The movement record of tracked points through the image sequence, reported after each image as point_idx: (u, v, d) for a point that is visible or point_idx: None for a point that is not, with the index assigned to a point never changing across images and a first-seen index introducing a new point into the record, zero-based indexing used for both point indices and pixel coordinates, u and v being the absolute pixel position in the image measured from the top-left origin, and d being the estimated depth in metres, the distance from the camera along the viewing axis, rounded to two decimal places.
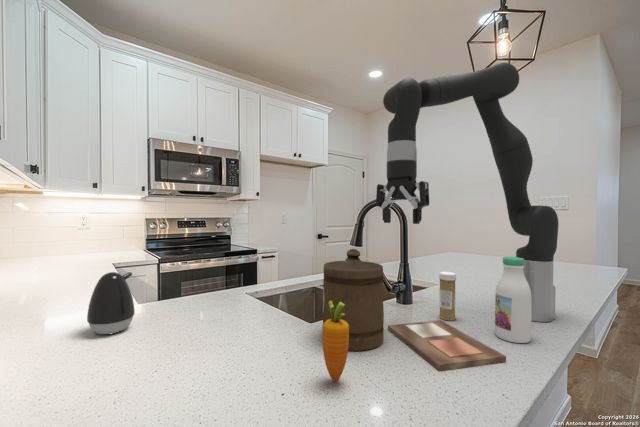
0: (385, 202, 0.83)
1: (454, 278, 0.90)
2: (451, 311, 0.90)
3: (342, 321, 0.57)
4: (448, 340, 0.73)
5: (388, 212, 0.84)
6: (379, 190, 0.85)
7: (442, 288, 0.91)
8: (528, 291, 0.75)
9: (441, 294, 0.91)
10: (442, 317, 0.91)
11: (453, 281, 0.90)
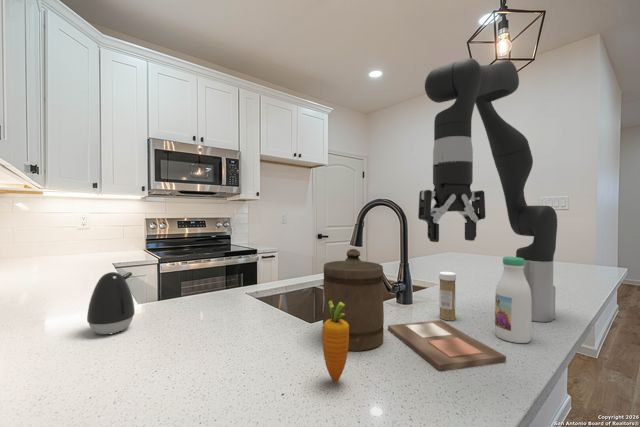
0: (438, 214, 0.62)
1: (454, 278, 0.90)
2: (451, 311, 0.90)
3: (342, 321, 0.57)
4: (448, 340, 0.73)
5: None
6: (430, 198, 0.62)
7: (442, 288, 0.91)
8: (528, 291, 0.75)
9: (441, 294, 0.91)
10: (442, 317, 0.91)
11: (453, 281, 0.90)
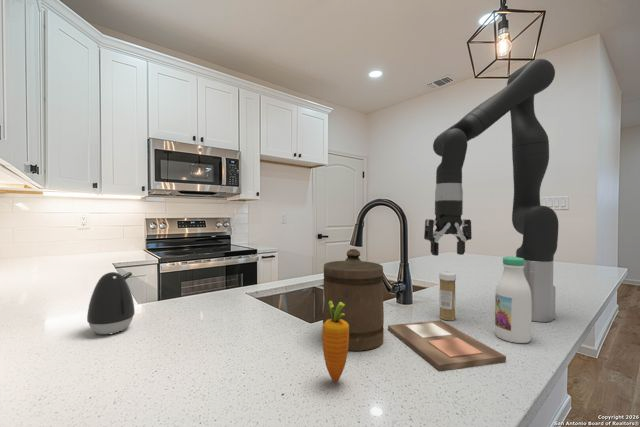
0: (438, 236, 0.90)
1: (454, 278, 0.90)
2: (451, 311, 0.90)
3: (342, 321, 0.57)
4: (448, 340, 0.73)
5: None
6: (432, 225, 0.89)
7: (442, 288, 0.91)
8: (528, 291, 0.75)
9: (441, 294, 0.91)
10: (442, 317, 0.91)
11: (453, 281, 0.90)
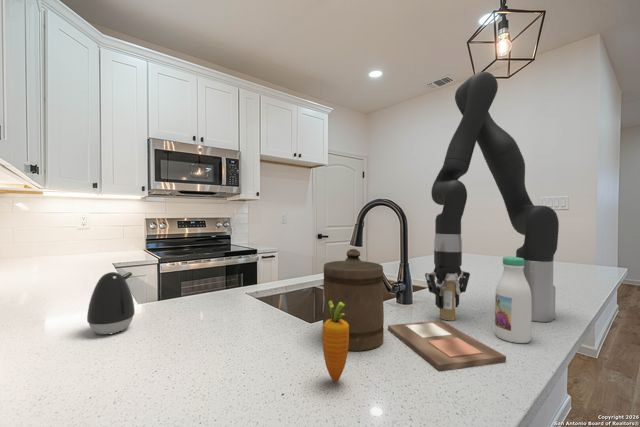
0: (442, 289, 0.90)
1: (454, 278, 0.90)
2: (451, 311, 0.90)
3: (342, 321, 0.57)
4: (448, 340, 0.73)
5: None
6: (433, 279, 0.89)
7: None
8: (528, 291, 0.75)
9: None
10: (442, 317, 0.91)
11: (453, 281, 0.90)
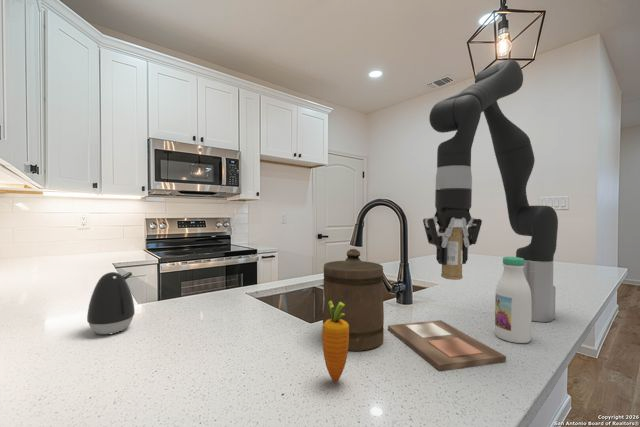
0: (445, 239, 0.69)
1: (461, 224, 0.69)
2: (457, 267, 0.69)
3: (342, 321, 0.57)
4: (448, 340, 0.73)
5: None
6: (434, 225, 0.68)
7: None
8: (528, 291, 0.75)
9: None
10: (445, 276, 0.70)
11: (460, 228, 0.69)
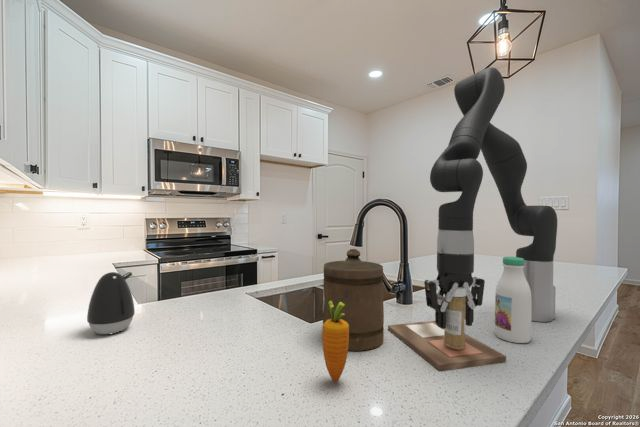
0: (445, 303, 0.67)
1: (464, 293, 0.68)
2: (460, 337, 0.67)
3: (342, 321, 0.57)
4: None
5: None
6: (435, 289, 0.67)
7: (448, 306, 0.69)
8: (528, 291, 0.75)
9: (447, 314, 0.69)
10: (448, 345, 0.68)
11: (463, 297, 0.68)
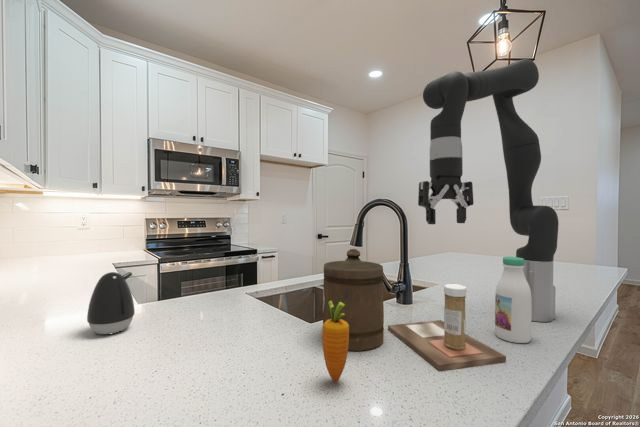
0: (435, 201, 0.75)
1: (464, 293, 0.68)
2: (460, 337, 0.67)
3: (342, 321, 0.57)
4: None
5: None
6: (427, 188, 0.75)
7: (448, 306, 0.69)
8: (528, 291, 0.75)
9: (446, 314, 0.69)
10: (448, 345, 0.68)
11: (463, 297, 0.68)
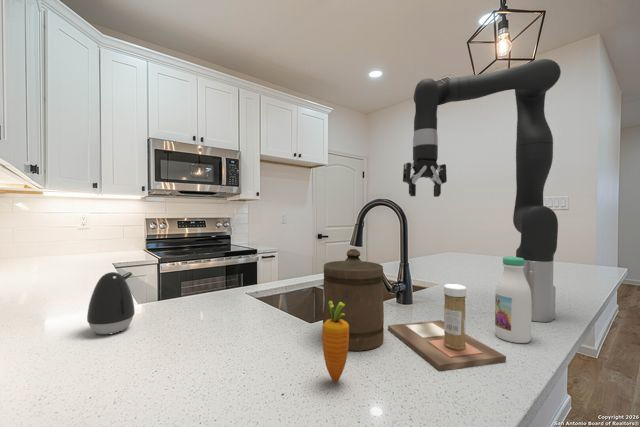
0: (415, 178, 0.98)
1: (464, 293, 0.68)
2: (460, 337, 0.67)
3: (342, 321, 0.57)
4: None
5: None
6: (410, 167, 0.97)
7: (448, 306, 0.69)
8: (528, 291, 0.75)
9: (446, 314, 0.69)
10: (448, 345, 0.68)
11: (463, 297, 0.68)
